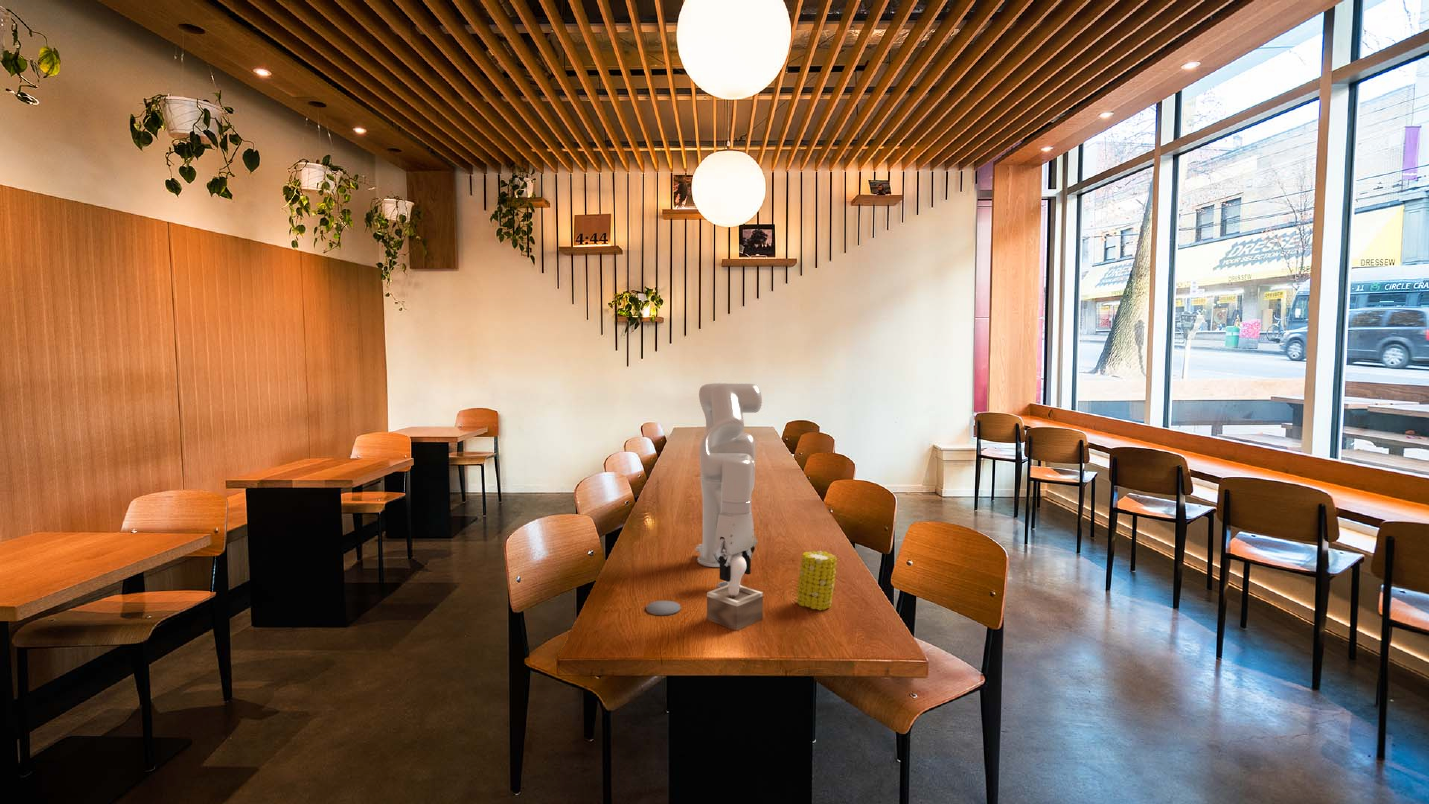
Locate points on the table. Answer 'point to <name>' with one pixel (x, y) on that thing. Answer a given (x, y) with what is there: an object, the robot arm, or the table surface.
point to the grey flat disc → (663, 608)
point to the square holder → (735, 607)
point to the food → (816, 580)
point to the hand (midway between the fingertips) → (735, 576)
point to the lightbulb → (736, 573)
